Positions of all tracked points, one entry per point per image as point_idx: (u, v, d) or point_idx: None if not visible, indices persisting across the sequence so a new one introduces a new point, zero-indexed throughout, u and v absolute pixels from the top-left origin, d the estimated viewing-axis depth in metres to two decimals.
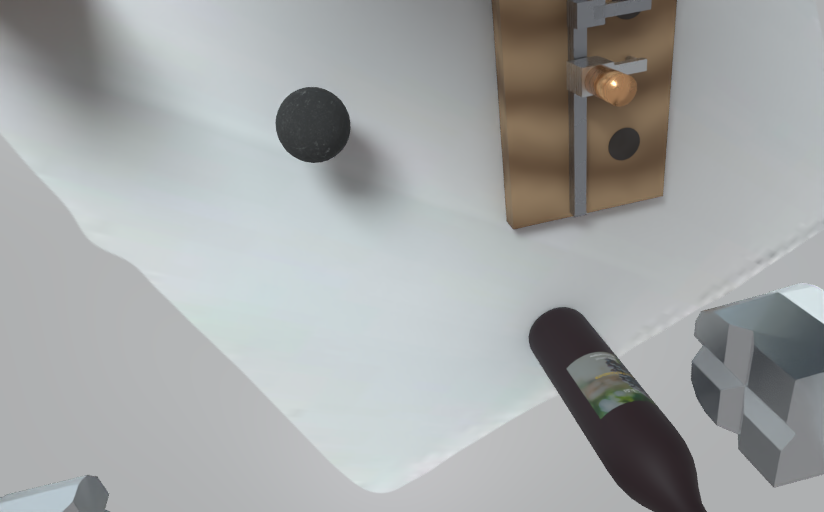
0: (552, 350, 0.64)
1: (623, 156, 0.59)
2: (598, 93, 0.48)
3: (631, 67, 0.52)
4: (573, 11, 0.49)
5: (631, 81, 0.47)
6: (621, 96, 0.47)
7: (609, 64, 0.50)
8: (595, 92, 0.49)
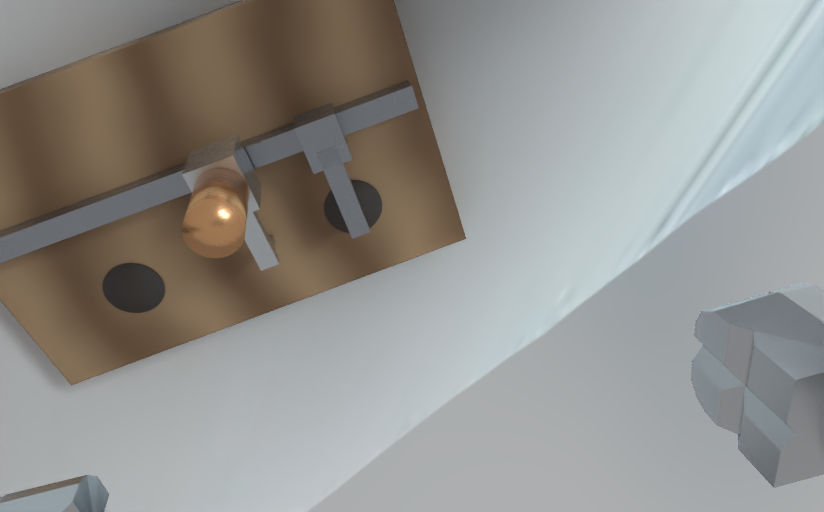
0: None
1: (112, 295, 0.34)
2: (196, 194, 0.25)
3: (259, 244, 0.31)
4: (319, 114, 0.29)
5: (236, 240, 0.25)
6: (202, 233, 0.24)
7: (253, 202, 0.28)
8: (196, 189, 0.25)
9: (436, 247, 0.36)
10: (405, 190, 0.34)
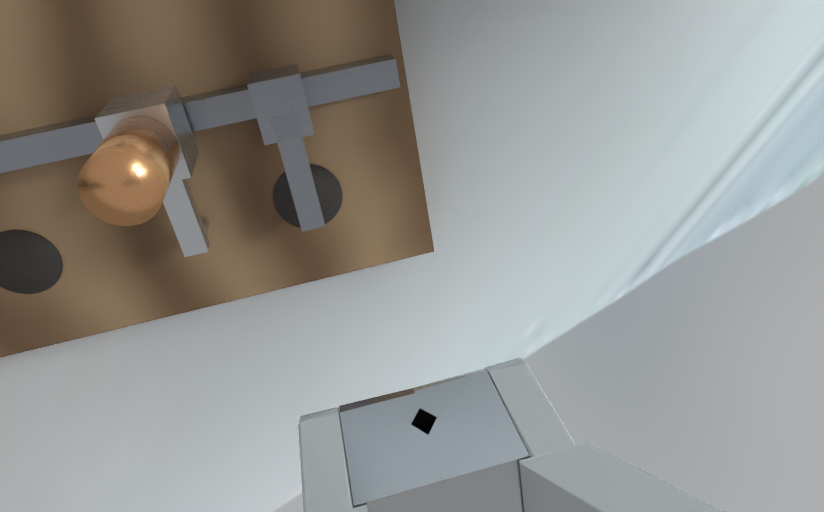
0: None
1: None
2: (106, 140, 0.19)
3: (186, 224, 0.25)
4: (281, 73, 0.24)
5: (150, 206, 0.19)
6: (106, 190, 0.18)
7: (184, 167, 0.22)
8: (108, 136, 0.20)
9: (399, 257, 0.31)
10: (372, 185, 0.29)
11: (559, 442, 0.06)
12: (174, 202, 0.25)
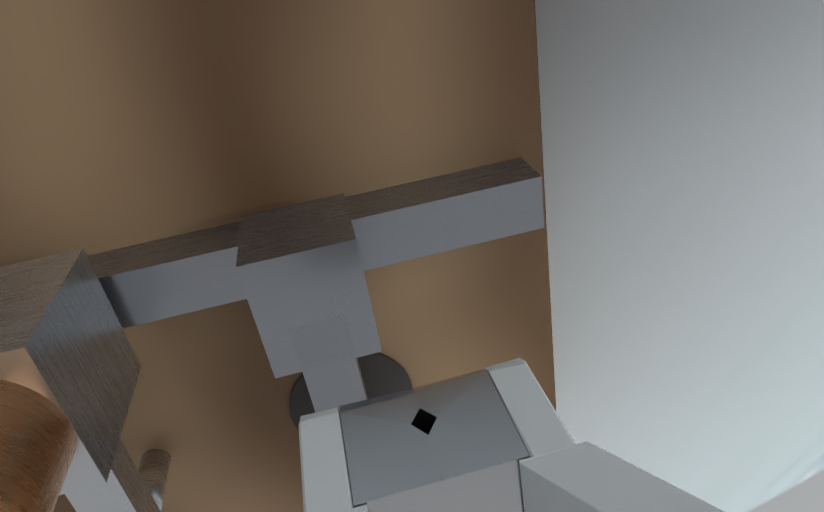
0: None
1: None
2: None
3: None
4: (312, 230, 0.11)
5: None
6: None
7: (87, 466, 0.10)
8: None
9: None
10: None
11: (559, 442, 0.06)
12: None
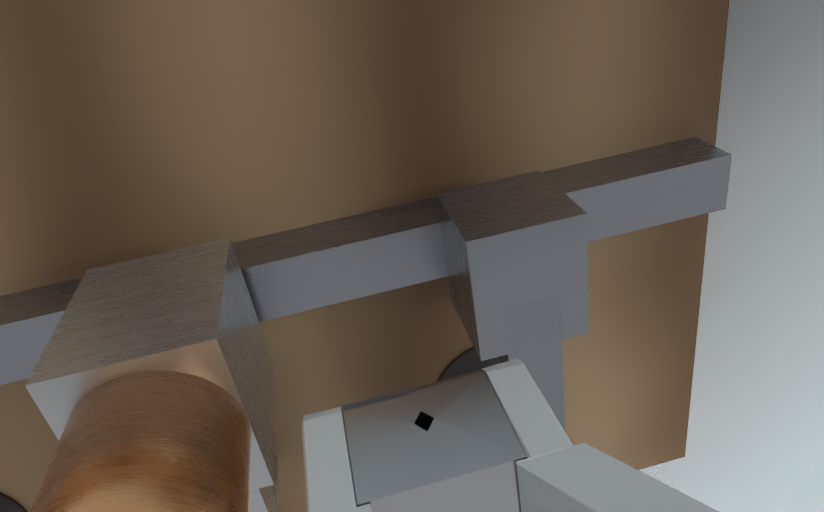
0: None
1: None
2: None
3: None
4: (529, 206, 0.10)
5: None
6: None
7: (259, 466, 0.09)
8: (54, 501, 0.06)
9: None
10: (609, 365, 0.16)
11: (556, 443, 0.06)
12: None
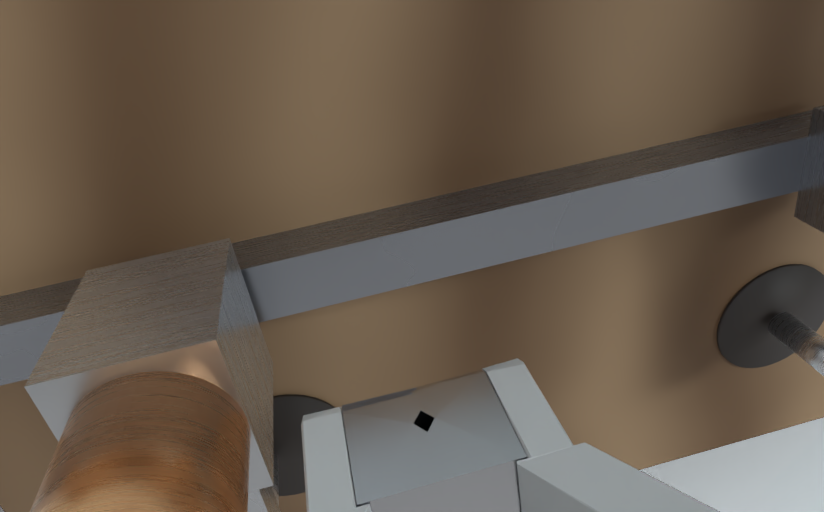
0: None
1: None
2: None
3: None
4: None
5: None
6: None
7: (258, 467, 0.09)
8: (53, 502, 0.06)
9: None
10: None
11: (556, 443, 0.06)
12: None
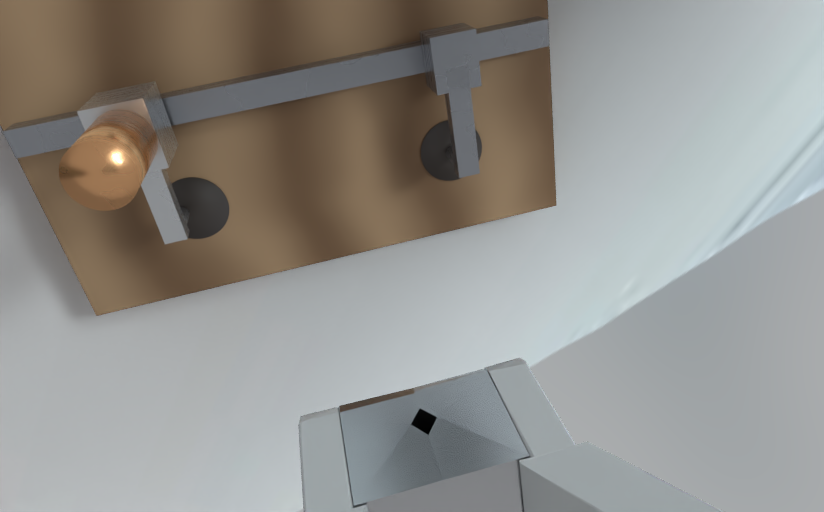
0: None
1: None
2: (86, 131, 0.21)
3: (166, 213, 0.27)
4: (455, 29, 0.26)
5: (126, 191, 0.20)
6: (85, 177, 0.20)
7: (162, 157, 0.24)
8: (89, 127, 0.21)
9: (524, 210, 0.34)
10: (508, 141, 0.32)
11: (559, 442, 0.06)
12: (154, 192, 0.26)
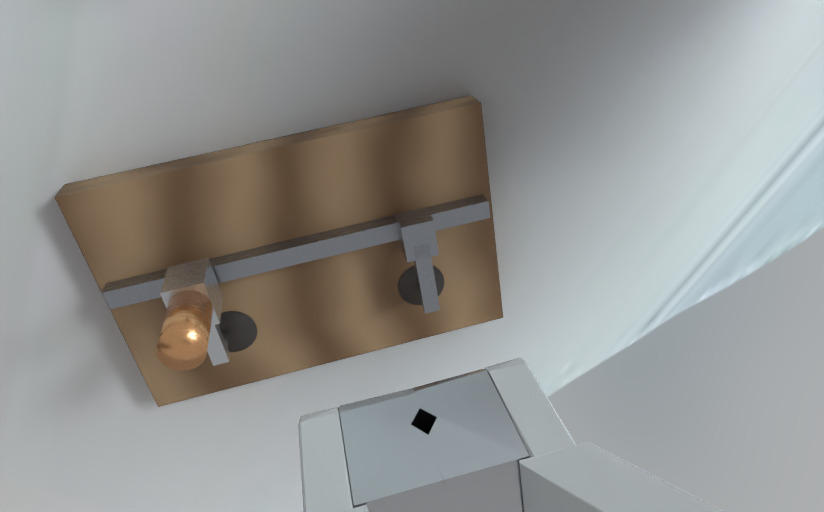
0: None
1: None
2: (171, 317, 0.32)
3: (214, 345, 0.37)
4: (419, 218, 0.37)
5: (198, 358, 0.31)
6: (172, 352, 0.31)
7: (215, 317, 0.35)
8: (171, 311, 0.32)
9: (478, 322, 0.44)
10: (464, 276, 0.42)
11: (559, 442, 0.06)
12: None
